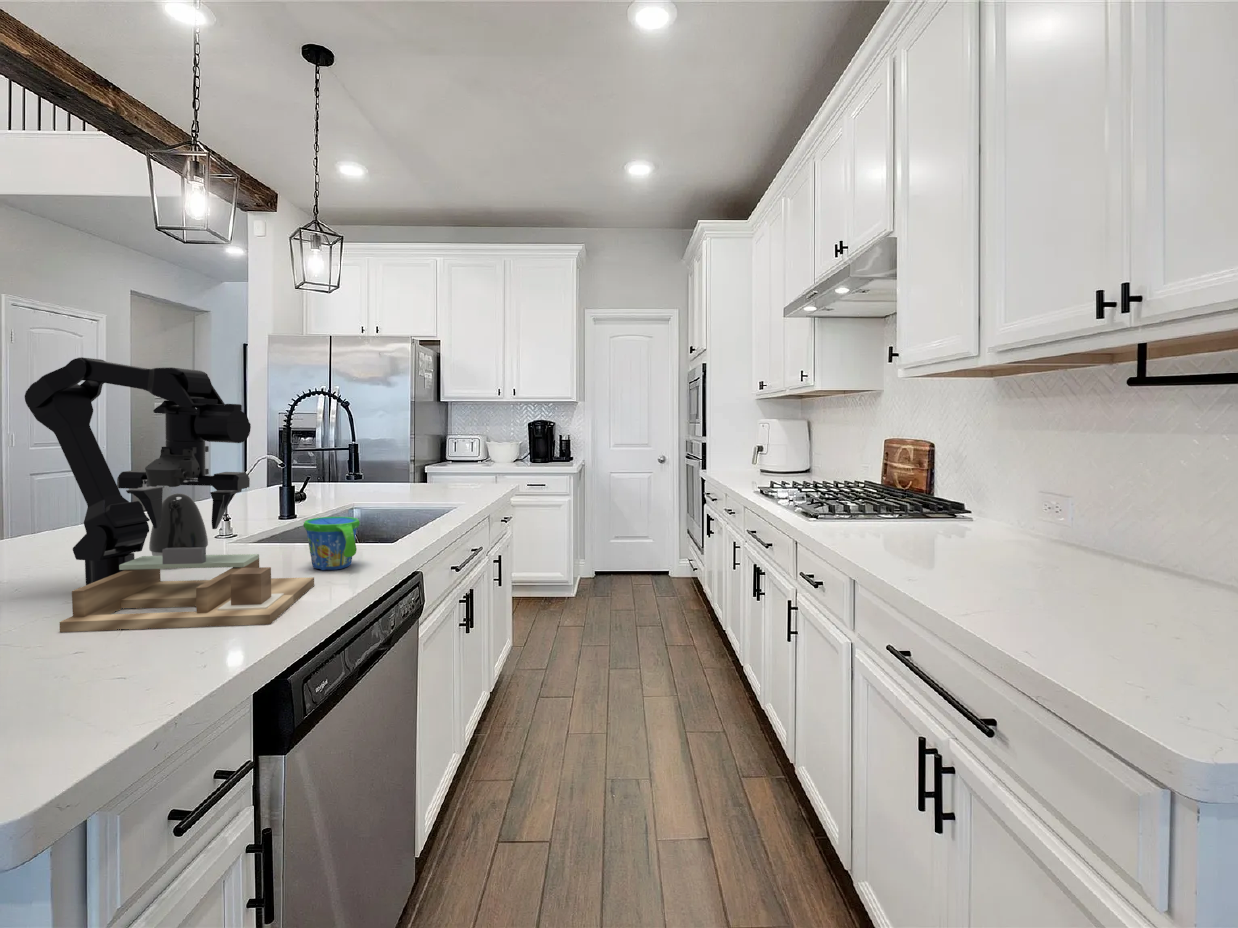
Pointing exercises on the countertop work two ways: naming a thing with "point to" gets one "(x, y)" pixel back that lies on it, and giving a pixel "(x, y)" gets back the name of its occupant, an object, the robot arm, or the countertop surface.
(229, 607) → the cream pad
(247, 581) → the walnut block
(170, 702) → the countertop surface
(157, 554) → the dark grey rounded dome
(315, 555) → the snack cup
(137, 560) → the sliding cover
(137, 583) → the puzzle board
